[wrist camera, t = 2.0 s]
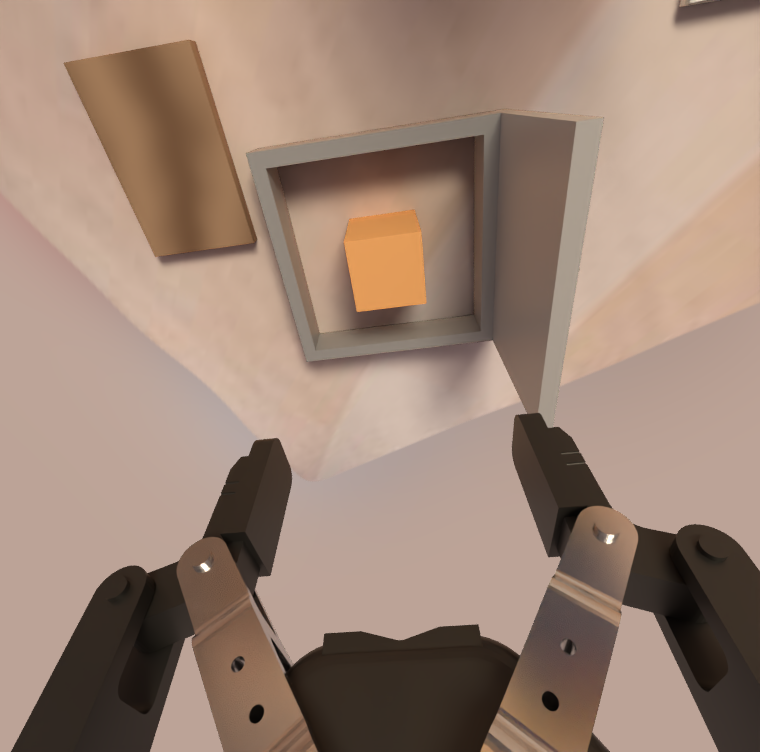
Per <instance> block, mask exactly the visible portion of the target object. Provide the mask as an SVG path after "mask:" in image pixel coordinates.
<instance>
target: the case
mask: <svg viewBox="0 0 760 752" xmlns="http://www.w3.org/2000/svg"><path fill="white" fill-rule="evenodd" d="M603 121H604V117H595V116H583V115H571V114H559V113H547V112H535V111H523V110H512V109H502V110H495V111H489V112H483V113H477V114H470V115H464V116H458V117H452V118H445V119H439V120H433V121H427V122H420V123H414V124H408V125H402V126H395V127H389V128H383V129H377V130H370V131H364V132H358V133H352V134H345V135H339V136H333V137H327V138H320V139H314V140H308V141H302V142H295V143H289V144H283V145H277V146H270V147H264V148H258V149H255V150H253V151H251V152H248V153H246V156H247V159H248V162H249V166H250V169H251V173H252V176H253V179H254V183H255V186H256V190H257V193H258V197H259V200H260V203H261V207H262V210H263V214H264V217H265V221H266V224H267V227H268V231H269V234H270V238H271V241H272V244H273V248H274V251H275V255H276V258H277V262H278V265H279V268H280V272H281V275H282V279H283V282H284V286H285V289H286V292H287V296H288V299H289V303H290V306H291V309H292V313H293V316H294V320H295V323H296V327H297V330H298V333H299V337H300V340H301V344H302V347H303V351H304V354H305V357H306V361H307V362H310V361H318V360H327V359H336V358H344V357H353V356H361V355H370V354H379V353H387V352H396V351H404V350H413V349H422V348H430V347H439V346H447V345H456V344H465V343H473V342H482V341H490V340H493V342H494V344H495V346H496V348H497V350H498V352H499V355H500V357H501V359H502V361H503V363H504V365H505V367H506V369H507V372H508V374H509V376H510V378H511V380H512V382H513V384H514V386H515V389H516V391H517V393H518V395H519V397H520V399H521V401H522V403H523V405H524V408H525V410H526V412H527V414H531V413H540V414H541V415H542V417H543V419H544V421H545V423H546V425H547V427H548V428H553V423H554V417H555V411H556V405H557V398H558V393H559V387H560V381H561V375H562V369H563V363H564V357H565V351H566V345H567V339H568V333H569V327H570V321H571V314H572V308H573V302H574V296H575V290H576V284H577V278H578V272H579V266H580V260H581V254H582V248H583V242H584V236H585V230H586V224H587V218H588V212H589V206H590V200H591V194H592V188H593V182H594V176H595V170H596V164H597V158H598V151H599V145H600V139H601V133H602V127H603ZM472 136H475V142H474V315H469V316H460V317H452V318H444V319H436V320H427V321H419V322H411V323H403V324H395V325H386V326H378V327H370V328H362V329H353V330H345V331H337V332H329V333H319V329H318V325H317V321H316V317H315V313H314V309H313V305H312V302H311V298H310V294H309V290H308V286H307V282H306V278H305V274H304V270H303V266H302V263H301V259H300V255H299V251H298V247H297V243H296V239H295V235H294V231H293V227H292V224H291V220H290V216H289V212H288V208H287V204H286V200H285V196H284V192H283V188H282V185H281V181H280V177H279V173H278V169H277V167H279V166H286V165H292V164H299V163H305V162H311V161H318V160H324V159H331V158H337V157H344V156H350V155H356V154H363V153H369V152H376V151H382V150H388V149H395V148H401V147H408V146H414V145H421V144H427V143H433V142H440V141H446V140H453V139H459V138H466V137H472Z"/></svg>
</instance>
